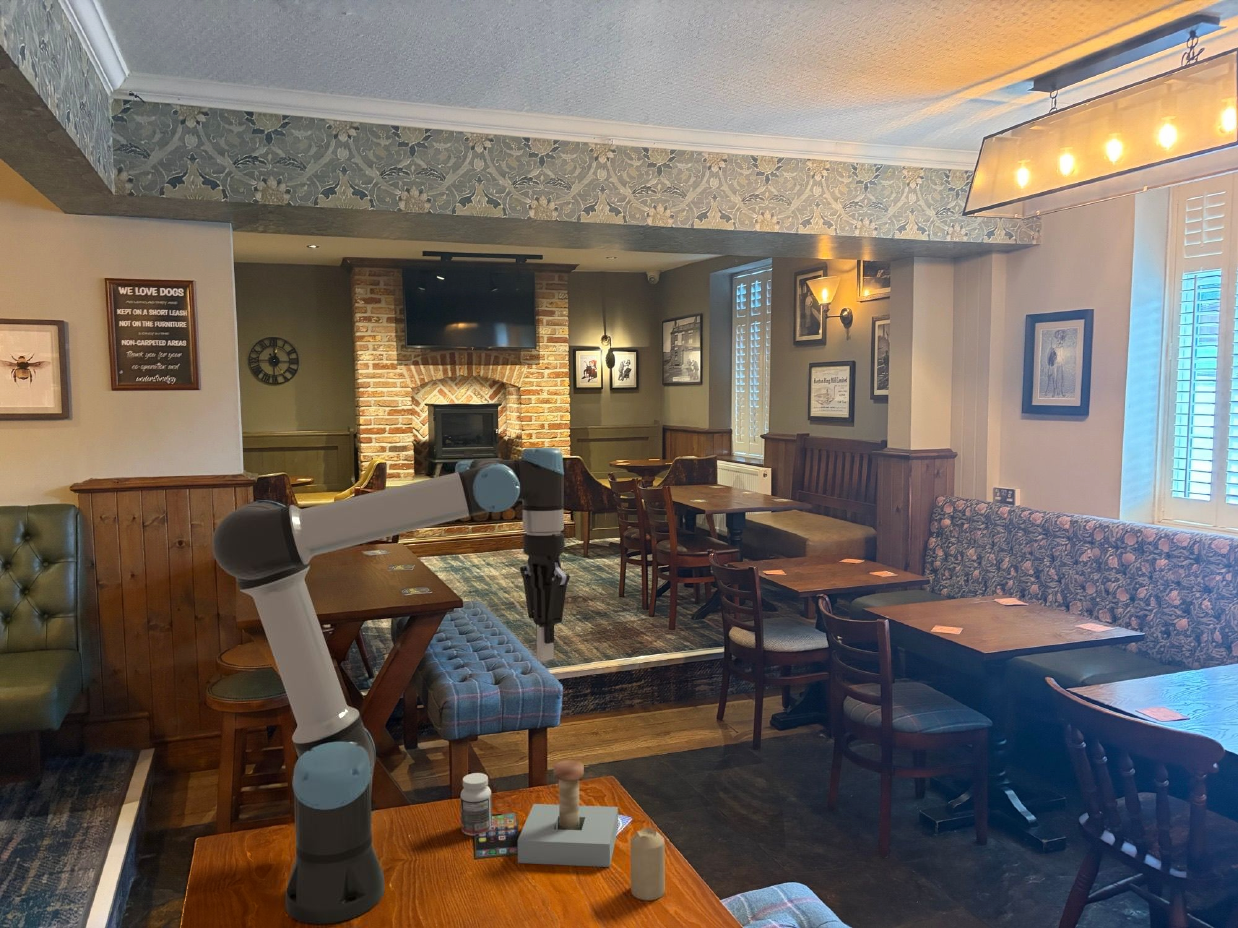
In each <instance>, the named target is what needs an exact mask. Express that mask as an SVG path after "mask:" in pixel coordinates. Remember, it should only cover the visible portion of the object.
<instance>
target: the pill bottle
mask: <svg viewBox="0 0 1238 928" xmlns="http://www.w3.org/2000/svg"><path fill="white" fill-rule="evenodd" d="M488 785H489V777H488V775H487V774H485V773H482V772H473V773H469V774H466V775H465V776H463V778H462V787H463V789H462V790H461V791H460V818H461V819H460V820H461V821H460V822H461V823H460V825H461V826H460V827H461V831H462V832H463V834H465V835H467V836H469V837H471V836H472V837H475V835H476V834H481V833H485V832H487V831H489V830H490V829H491V828H492V814H493V811H492V810H493V809H492V804H493V803H492V790H491V788H490V787H489V786H488Z"/></svg>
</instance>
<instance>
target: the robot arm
mask: <svg viewBox="0 0 1238 928" xmlns="http://www.w3.org/2000/svg"><path fill="white" fill-rule="evenodd" d="M563 460H564V459H563V452H562V451H561V450H560V449H559V448H556V447H529V448H527V447H525V448H523V450H522V451H521V456H520V458H516V459H472V460H460V461H457V463H456V465H455V468H454V469H455V470H454V473H451V474H445V475H440V476H436V477H433V478H428V479H424V480H420V481H415V482H411V483H407V484H402V485H399V486H394V487H390V488H386V489H382V490H378V491H373V492H369V493H365V494H360V495H357V496H352V497H348V498H343V499H340V500H335V501H332V502H328V503H327V502H326V503H322V504H318V505H314V506H309V507H306V508H299V507H297V506H296V505H294V504H291V505H284V504H282V503H280V502H277V501H273V500H267V499H266V500H265V499H264V500H262V499H261V500H256V501H250V502H248V503H246V504H243V505H240V506H239V507H238V508H237V509H236V510H234V511H232V512H230V513H228V514H227V515H226V516H225V517H224V518H223V519H222V520H221V521H220V522H219V523H218V524H217V526H216V528H215V530H214V533H213V535H212V541H211V548H212V552H213V553H212V554H213V556H214V558H215V561H216V562H217V564H218V565H219V567H220V568H221V569H222V570H224V571H225V573H227V574H228V575H230V576H232V577H234V578H235V579H236V582H237V585H238V588H239V590H240V592H242V593H245V594H247V595H249V596H250V597H252V598H253V602H254V603H255V607H256V610H257V612H258V615H259V618H260V621H261V625H262V627H263V629H264V632H265V635H266V638H267V641H268V645H269V646H270V649H271V652H272V656H273V658H274V663H275V664H276V667H277V669H278V673H279V675H280V678H281V681H282V684H283V687H284V690H285V693H286V695H287V698H288V701H289V704H290V707H291V711H292V713H293V716H294V719H295V722H296V724H297V725H296V726H297V727H296V728H295V730H294V732H293V734H292V736H291V739H292V743H293V745H294V748H295V751H296V754H297V757H298V759H297V761H296V763H295V765H294V768H293V775H292V789H293V796H294V797H293V799H294V834H295V859H294V862H293V866H292V869H291V872H290V876H289V878H288V879H289V880H288V883H287V886H286V889H285V910H286V913H287V914H288V915H289V916H290V917H291V918H292V919H294V920H296V921H298V922H301V923H306V924H311V925H312V924H313V925H324V924H325V925H327V924H334V923H339V922H344V921H347V920H351V919H353V918H356V917H359V916H361V915H362V914H364V913H366V912H368V911H369V910H371V909H372V908H374V907H375V906H376V905H377V904H378V903H379V902H380V901H381V900H382V898H383V896H384V893H385V876H384V871H383V870H382V867H381V864H380V861H379V859H378V855H377V853H376V851H375V848H374V846H373V830H372V829H373V828H372V827H373V826H372V785H373V778H374V768H375V763H376V747H375V742H374V740H373V738H372V737H373V736H372V735H371V733H370V732H369V731H368V729H367V728H366V727H365V726H364V723H363V720H362V717H361V715H360V712H359V710H358V709H357V708H355V707H352V706H349V705H348V704H347V701H346V698H345V695H344V692H343V690H342V686H341V684H340V681H339V678H338V675H337V672H336V669H335V667H334V663H333V660H332V657H331V654H330V651H329V648H328V646H327V642H326V640H325V636H324V634H323V631H322V628H321V624H320V621H319V619H318V616H317V613H316V610H315V607H314V604H313V600H312V598H311V596H310V592H309V590H308V585H307V583H306V581H305V578H306V575H307V574H308V571H309V570H310V568H311V567H310V561H311V560H312V558H313V557H315V556H318V555H322V554H326V553H330V552H335V551H338V550H341V549H346V548H349V547H350V548H351V547H352V546H353V547H354V546H356V545H357V546H358V545H360V544H365V543H369V542H373V541H376V540H377V541H378V540H380V539H384V538H389V537H393V536H396V535H400V534H404V533H407V532H412V531H417V530H419V529H424V528H428V527H431V526H435V525H439V524H444V523H447V522H451V521H452V522H453V521H454V520H459V519H463V518H468V517H471V516H476V515H481V514H484V513H489V512H490V513H500V512H504V511H507V510H509V509H510V508H512V507H513V506H514V505H515V504H516V502H519V501H522V502H521V503H522V530H523V531H524V532H525V533H524V534H523V535H522V544H523V545H522V546H523V547H522V548H523V549H522V550H523V552H522V553H524V555H527V556H528V558H527V564H525V565H523V566H520V567H519V572H520V576H521V577H522V581H523V582H522V583H523V588H524V595H525V601H526V608H527V615H528V616H527V617H528V618H529V619H532V620H533V623H534V624H535V639H536V660H537V661H539V662H542V663H543V662H546V661H552V660H554V659H555V657H554V656H555V651H554V647H555V646H554V643H555V626H556V625H557V624H561V623H562V621H563V616H564V615H563V614H564V610H565V609H564V606H565V601H566V593H567V586H568V583H569V581H570V578H571V575H570V574H569V573H564V571H563V570H562V564H561V563H562V562H561V560H560V556H561V555H562V554H563V553H564V552H565V534H564V533H563V532H562V531H563V530H564V529H565V525H564V524H565V521H564V519H565V516H564V515H565V513H564V509H565V508H564V502H565V500H564V499H565V498H564V496H565V495H564V494H565V493H564V491H565V490H564V487H565V486H564V485H565V483H564V481H565V480H564V478H565V477H564V475H565V472H564V461H563Z"/></svg>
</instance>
